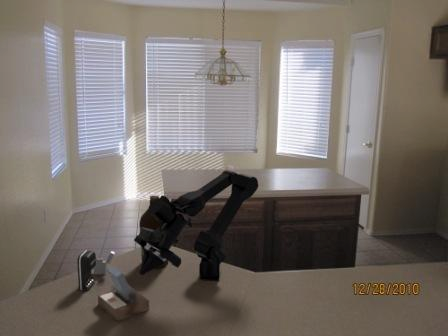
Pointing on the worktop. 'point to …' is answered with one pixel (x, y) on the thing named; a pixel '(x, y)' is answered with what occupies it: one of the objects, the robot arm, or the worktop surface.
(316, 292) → the worktop surface
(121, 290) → the block
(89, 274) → the battery charger
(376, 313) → the worktop surface
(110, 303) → the switch plate
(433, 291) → the worktop surface
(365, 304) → the worktop surface
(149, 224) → the olive oil
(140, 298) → the switch base
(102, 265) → the lighter
